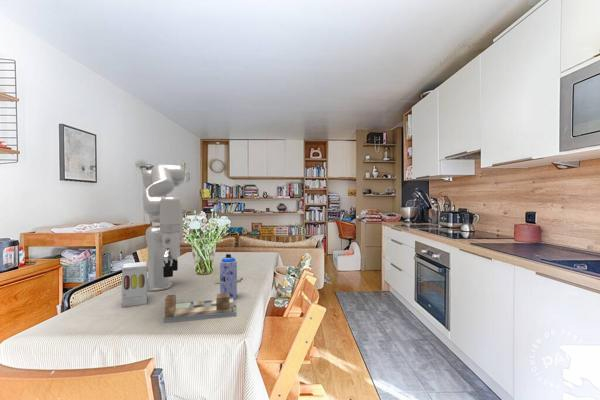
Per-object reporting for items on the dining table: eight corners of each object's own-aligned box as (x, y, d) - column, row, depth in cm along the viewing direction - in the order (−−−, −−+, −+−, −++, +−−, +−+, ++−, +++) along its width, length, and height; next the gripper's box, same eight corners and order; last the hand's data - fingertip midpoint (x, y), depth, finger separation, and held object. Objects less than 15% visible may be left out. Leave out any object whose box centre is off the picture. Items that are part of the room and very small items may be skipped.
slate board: (164, 322, 107) (163, 318, 107) (172, 306, 123) (172, 303, 123) (235, 316, 113) (235, 312, 113) (235, 301, 129) (235, 298, 129)
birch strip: (164, 318, 109) (164, 299, 109) (167, 312, 113) (167, 294, 113) (233, 312, 114) (233, 294, 114) (233, 307, 119) (233, 290, 119)
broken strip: (192, 308, 119) (192, 305, 119) (193, 304, 123) (193, 301, 123) (233, 305, 122) (233, 302, 122) (233, 301, 127) (233, 298, 127)
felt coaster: (173, 310, 116) (173, 309, 116) (175, 305, 122) (175, 303, 122) (188, 309, 118) (188, 307, 118) (190, 303, 123) (190, 302, 123)
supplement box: (121, 307, 121) (121, 267, 121) (123, 300, 129) (122, 263, 129) (147, 303, 126) (147, 265, 125) (147, 297, 134) (147, 260, 134)
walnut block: (216, 310, 113) (216, 298, 113) (217, 305, 118) (217, 294, 118) (229, 309, 114) (229, 297, 114) (229, 304, 119) (229, 293, 119)
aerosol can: (216, 297, 134) (216, 254, 133) (231, 293, 139) (231, 251, 139) (225, 301, 128) (225, 256, 128) (240, 297, 134) (240, 254, 134)
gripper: (177, 231, 104) (177, 278, 104) (184, 226, 120) (184, 267, 121) (154, 231, 102) (154, 280, 102) (164, 227, 119) (165, 269, 119)
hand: (170, 273), depth 111 cm, fingers open, 9 cm apart
